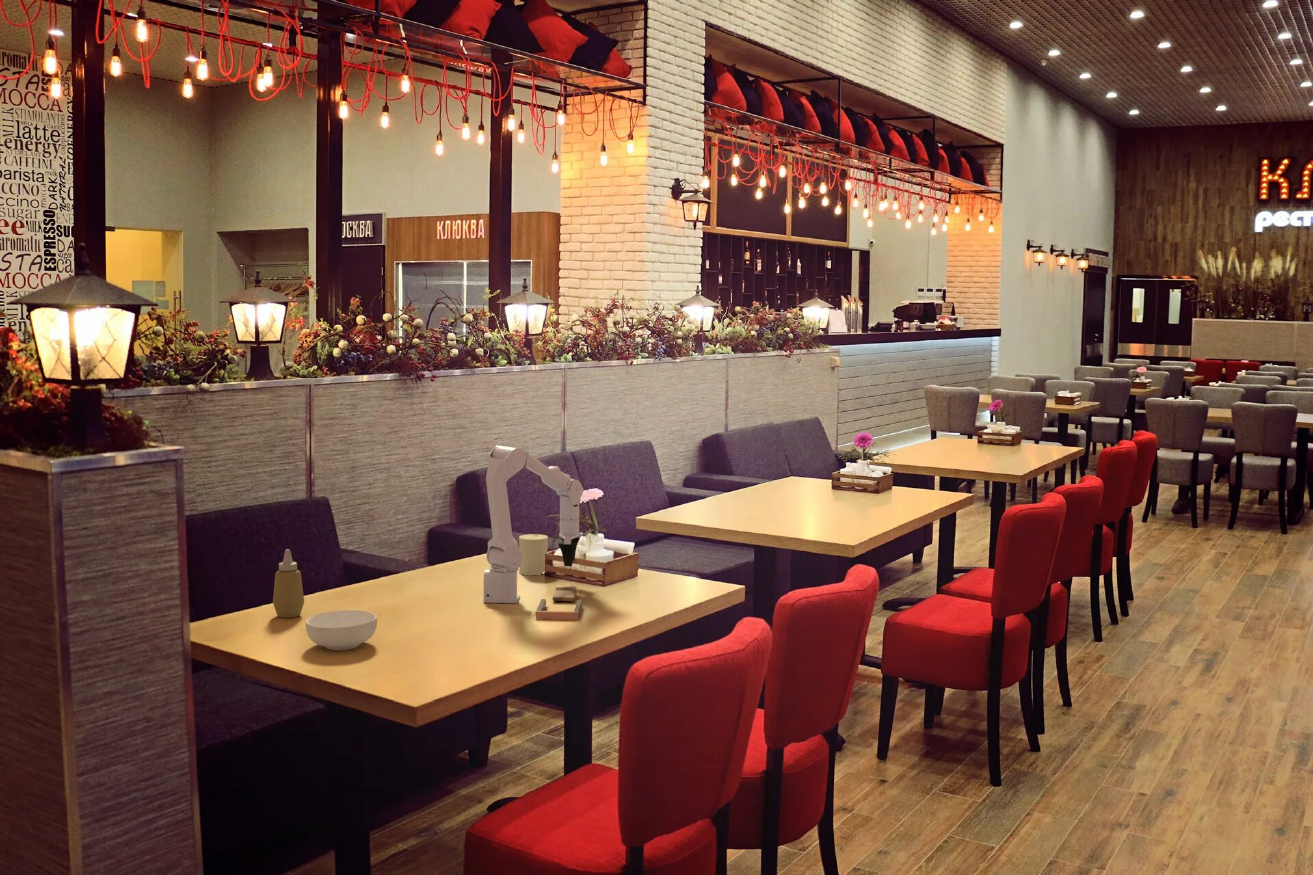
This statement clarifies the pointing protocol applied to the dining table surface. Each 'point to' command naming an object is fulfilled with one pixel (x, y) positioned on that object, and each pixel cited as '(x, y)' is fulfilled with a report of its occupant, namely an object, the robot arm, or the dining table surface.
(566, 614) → the tray
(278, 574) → the squeeze bottle
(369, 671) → the dining table surface
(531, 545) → the can
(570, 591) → the brown slab
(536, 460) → the robot arm
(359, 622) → the cereal bowl
